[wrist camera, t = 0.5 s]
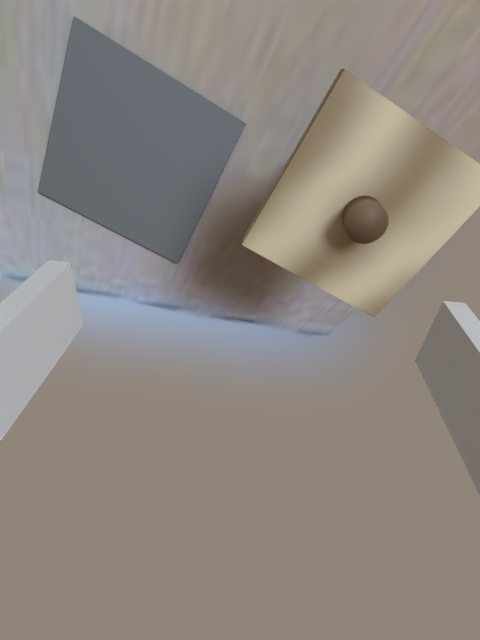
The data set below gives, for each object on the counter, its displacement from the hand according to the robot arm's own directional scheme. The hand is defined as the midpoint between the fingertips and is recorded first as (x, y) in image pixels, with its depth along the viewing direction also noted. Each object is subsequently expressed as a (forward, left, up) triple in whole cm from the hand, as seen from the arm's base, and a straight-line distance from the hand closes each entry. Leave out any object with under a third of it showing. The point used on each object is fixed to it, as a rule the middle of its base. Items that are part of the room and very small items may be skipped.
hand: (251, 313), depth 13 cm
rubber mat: (-12, -6, -26) cm, 29 cm away
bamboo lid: (+5, +3, -13) cm, 14 cm away
